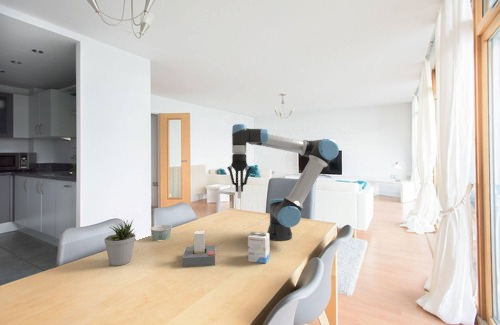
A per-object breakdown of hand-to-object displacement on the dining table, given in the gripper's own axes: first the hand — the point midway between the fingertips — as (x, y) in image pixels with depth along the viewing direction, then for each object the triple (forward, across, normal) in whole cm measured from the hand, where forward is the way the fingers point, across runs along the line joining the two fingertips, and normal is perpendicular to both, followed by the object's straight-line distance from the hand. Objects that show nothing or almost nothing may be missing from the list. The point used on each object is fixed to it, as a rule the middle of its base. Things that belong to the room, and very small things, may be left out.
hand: (239, 197), depth 133 cm
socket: (+26, +20, +14) cm, 36 cm away
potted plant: (+27, +56, +12) cm, 63 cm away
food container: (+27, +44, -21) cm, 56 cm away
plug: (+25, +20, +14) cm, 35 cm away
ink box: (+27, -8, +17) cm, 33 cm away
